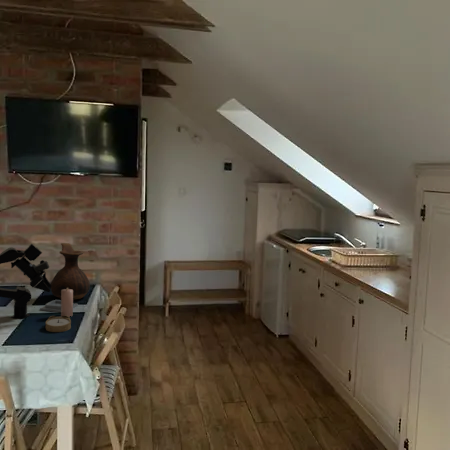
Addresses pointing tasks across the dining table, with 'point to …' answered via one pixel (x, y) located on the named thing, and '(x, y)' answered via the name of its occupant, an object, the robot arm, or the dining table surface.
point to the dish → (54, 306)
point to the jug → (70, 275)
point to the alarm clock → (58, 323)
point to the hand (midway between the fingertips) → (50, 289)
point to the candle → (67, 302)
